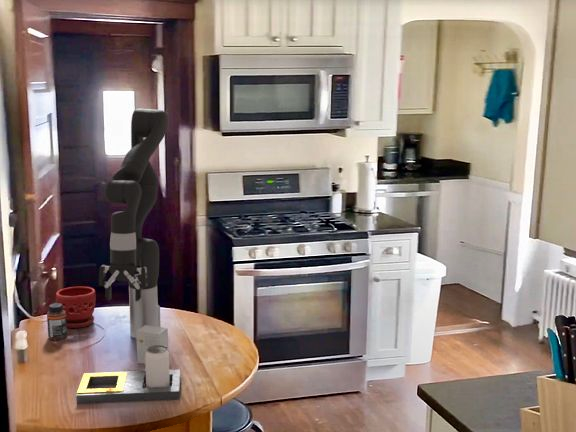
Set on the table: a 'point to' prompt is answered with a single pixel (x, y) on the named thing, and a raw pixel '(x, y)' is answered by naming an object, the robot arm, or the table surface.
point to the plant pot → (77, 305)
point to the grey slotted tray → (125, 388)
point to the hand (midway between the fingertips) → (123, 300)
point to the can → (157, 366)
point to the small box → (150, 340)
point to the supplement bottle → (56, 322)
